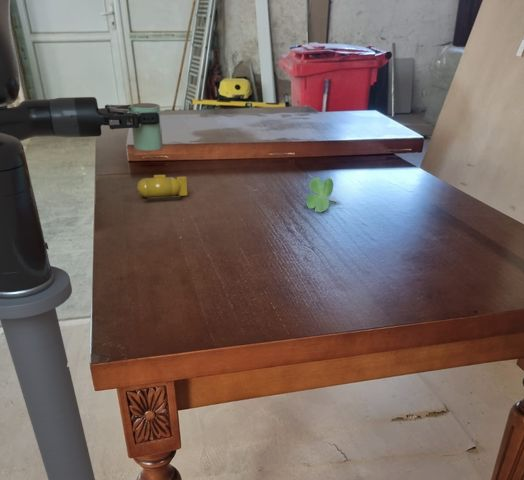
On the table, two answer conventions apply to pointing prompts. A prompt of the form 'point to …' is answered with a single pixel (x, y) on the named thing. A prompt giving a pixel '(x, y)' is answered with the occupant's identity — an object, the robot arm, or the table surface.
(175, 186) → the yellow toy submarine
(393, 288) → the table surface
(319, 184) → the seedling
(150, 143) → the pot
